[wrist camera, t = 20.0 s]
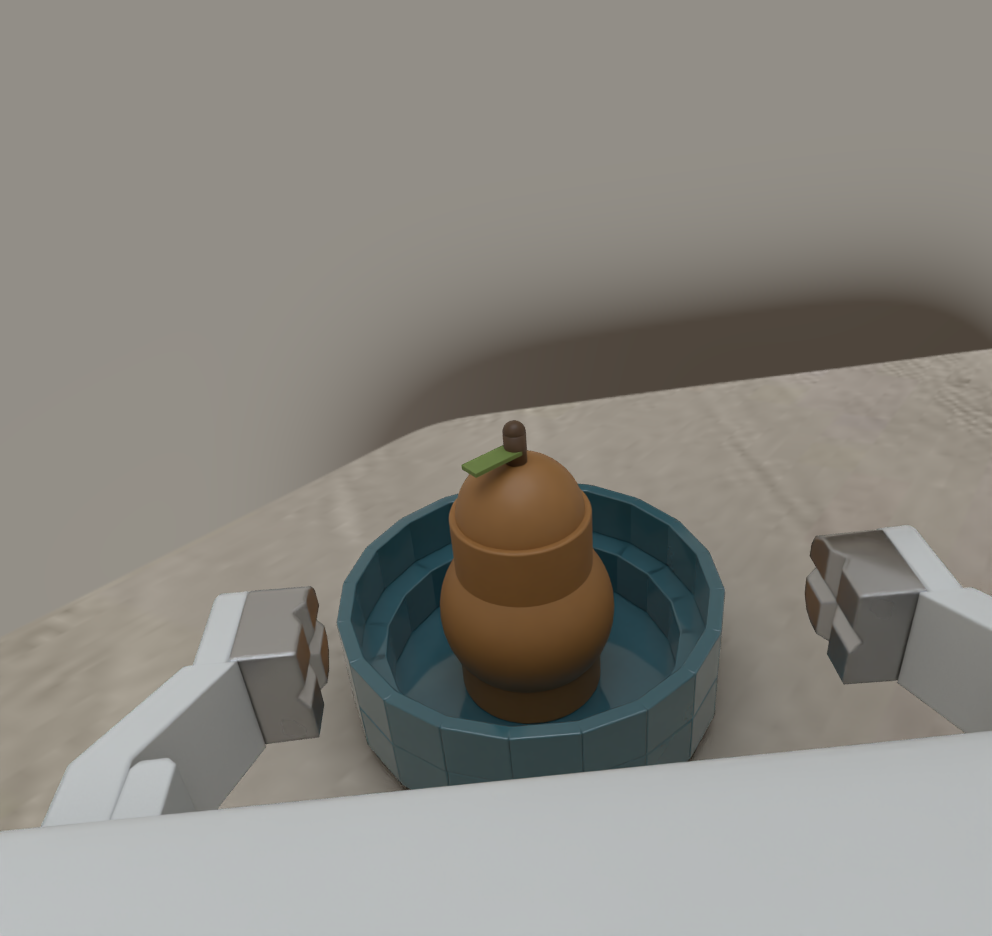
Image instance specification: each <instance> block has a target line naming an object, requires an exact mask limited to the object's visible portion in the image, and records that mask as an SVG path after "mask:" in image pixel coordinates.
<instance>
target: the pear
mask: <svg viewBox="0 0 992 936" xmlns="http://www.w3.org/2000/svg"><path fill="white" fill-rule="evenodd" d="M462 469H463V470H464V471H466V472H467V473H469V476H468V477H467V478H466V480H465V481H464V483H463V485H462V487H461V489H460V492H459V494H458V498H457V499H456V500H455V501H454V503H453V505H452V507H451V510H450V513H449V526H450V534H451V542H452V549H453V557H454V558H453V560H452V562H451V564H450V566H449V568H448V570H447V572H446V575H445V577H444V581H443V584H442V589H441V597H440V614H441V621H442V626H443V630H444V634H445V636H446V639H447V641H448V643H449V645H450V648H451V649H452V651H453V652H454V654H455V655H456V657H457V658H458V660H459V661H460V663H461V664H462V670H463V678H464V683H465V687H466V689H467V691H468V693H469V695H470V696H471V698H472V699H473V700H474V702H475V703H476V704H477V705H478V706H479V707H481V708H482V709H483V710H484V711H486V712H488V713H489V714H491V715H493V716H495V717H497V718H500V719H503V720H506V721H510V722H515V723H525V724H535V723H544V722H549V721H553V720H557V719H559V718H562V717H565V716H567V715H569V714H571V713H573V712H574V711H576V710H577V709H579V708H580V707H581V706H582V705H584V704H585V703H586V702H587V701H588V700H589V698H590V697H591V696H592V694H593V693H594V691H595V689H596V687H597V685H598V682H599V679H600V671H601V670H600V654H601V653H602V651H603V648H604V646H605V644H606V642H607V640H608V638H609V635H610V631H611V628H612V624H613V616H614V596H613V589H612V585H611V581H610V578H609V575H608V572H607V570H606V568H605V566H604V564H603V562H602V560H601V559H600V557H599V556H598V554H597V553H596V552H595V550H594V549H593V539H592V507H591V504H590V501H589V499H588V498H587V496H586V494H585V493H584V492H583V491H582V490H581V489H580V488H579V486H578V484H577V482H576V481H575V479H574V478H573V476H572V475H571V474H570V472H569V471H568V470H567V469H566V468H565V467H564V466H562V465H561V464H560V463H559V462H557V461H556V460H554V459H553V458H550V457H548V456H546V455H544V454H541V453H538V452H534V451H528V450H527V445H526V430H525V427H524V425H523V424H522V423H521V422H519V421H516V420H513V421H509V422H507V423H506V424H505V425H504V427H503V445H502V446H500V447H498V448H496V449H494V450H492V451H490V452H488V453H486V454H483V455H481V456H479V457H477V458H475V459H473V460H471V461H469V462H467V463H465V464H463V465H462Z"/></svg>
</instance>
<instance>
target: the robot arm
mask: <svg viewBox="0 0 992 936" xmlns="http://www.w3.org/2000/svg"><path fill="white" fill-rule="evenodd" d="M810 557H811V559H812V561H813V562H814V564H815V566H816V568H815V569H814V570H813V571H812V572H811V573H810V574H809V575H808V576H807V578H806V587H805V600H806V609H807V613H808V616H809V619H810V622H811V624H812V626H813V628H814V630H815V632H816V634H818V635H819V636H821V637H823V638H824V639H826V640H828V641H829V645H828V651H827V655H828V656H829V658H830V660H831V662H832V664H833V666H834V667H835V669H836V671H837V673H838V675H839V677H840V678H841V680H842V682H843V684H856V683H869V682H883V681H896V680H898V682H897V683H898V684H900V685H901V686H902V687H904V688H905V689H906V690H908V691H909V692H910V693H912V694H913V695H915V696H916V697H917V698H919V699H920V700H921V701H923V702H924V703H925V704H927V705H928V706H929V707H931V708H932V709H933V710H935V711H936V712H938V713H939V714H940V715H942V716H943V717H944V718H946V719H947V720H948V721H950V722H951V723H952V724H954V725H955V726H956V727H958V728H959V729H961V730H962V731H963V732H965V733H964V734H954V735H945V736H935V737H925V738H916V739H907V740H897V741H888V742H878V743H868V744H858V745H848V746H838V747H828V748H818V749H808V750H798V751H788V752H778V753H768V754H758V755H748V756H738V757H728V758H718V759H708V760H698V761H688V762H678V763H668V764H658V765H649V766H639V767H629V768H619V769H610V770H600V771H590V772H580V773H571V774H561V775H551V776H541V777H532V778H522V779H512V780H502V781H493V782H483V783H473V784H463V785H453V786H443V787H433V788H423V789H413V790H404V791H394V792H384V793H374V794H364V795H354V796H344V797H334V798H324V799H315V800H305V801H295V802H285V803H275V804H265V805H255V806H245V807H235V808H225V809H218V808H219V806H220V805H221V804H222V802H223V801H224V800H225V799H226V797H227V796H228V795H229V794H230V792H231V791H232V790H233V789H234V787H235V786H236V785H237V783H238V782H239V781H240V780H241V778H242V777H243V776H244V775H245V773H246V772H247V771H248V769H249V768H250V767H251V766H252V764H253V763H254V762H255V761H256V759H257V758H258V757H259V755H260V754H261V753H262V752H263V750H264V749H265V748H266V745H265V744H270V743H278V742H286V741H294V740H302V739H309V738H317V737H319V735H320V729H321V722H322V716H323V709H324V702H323V698H322V694H321V689H322V688H323V687H324V686H325V685H326V684H327V681H328V673H329V648H328V641H327V635H326V631H325V627H324V625H323V624H321V623H320V622H319V621H318V620H317V614H318V608H319V603H318V600H317V597H316V593H315V590H314V589H313V588H312V587H311V586H307V587H294V588H281V589H268V590H255V591H251V592H236V593H224V594H220V595H219V596H218V597H217V598H216V599H215V600H214V603H213V606H212V609H211V612H210V615H209V618H208V621H207V624H206V627H205V630H204V633H203V636H202V639H201V642H200V645H199V648H198V651H197V654H196V657H195V660H194V663H193V665H192V666H184V667H183V668H181V669H180V670H179V671H178V672H177V673H176V674H174V675H173V676H172V677H171V678H170V679H169V680H167V681H166V682H165V683H164V684H163V685H162V686H160V687H159V688H158V689H157V690H156V691H155V692H153V693H152V694H151V695H150V696H149V697H147V698H146V699H145V700H144V701H143V702H142V703H140V704H139V705H138V706H137V707H136V708H135V709H133V710H132V711H131V712H130V713H129V714H128V715H126V716H125V717H124V718H123V719H122V720H121V721H119V722H118V723H117V724H116V725H115V726H114V727H112V728H111V729H110V730H109V731H108V732H107V733H105V734H104V735H103V736H102V737H101V738H100V739H98V740H97V741H96V742H95V743H94V744H93V745H91V746H90V747H89V748H88V749H87V750H85V751H84V752H83V753H82V754H81V755H80V756H78V757H77V758H76V759H75V760H74V761H73V762H71V763H70V764H69V765H68V766H67V769H66V771H65V773H64V775H63V778H62V780H61V782H60V784H59V787H58V789H57V791H56V793H55V796H54V798H53V800H52V802H51V805H50V807H49V809H48V811H47V814H46V816H45V818H44V820H43V823H42V825H41V827H37V828H27V829H17V830H7V831H0V936H992V596H990V595H987V594H985V593H983V592H981V591H979V590H977V589H975V588H973V587H970V588H963V587H962V586H961V585H960V584H959V582H958V581H957V580H956V579H955V577H954V576H953V575H952V574H951V572H950V571H949V570H948V569H947V567H946V566H945V565H944V564H943V562H942V561H941V560H940V559H939V557H938V556H937V555H936V554H935V552H934V551H933V550H932V549H931V547H930V546H929V545H928V544H927V543H926V541H925V540H924V539H923V538H922V536H921V535H920V534H919V533H918V531H917V530H916V529H915V528H914V527H912V526H910V525H903V526H895V527H887V528H879V529H877V530H867V531H858V532H848V533H839V534H830V535H820V536H815V538H814V540H813V542H812V545H811V551H810Z"/></svg>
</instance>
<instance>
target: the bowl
mask: <svg viewBox="0 0 992 936" xmlns="http://www.w3.org/2000/svg"><path fill="white" fill-rule="evenodd" d="M578 486H579V488H580V489H581V490H582V491H583V492H584V493H585V494H586V496H587V498H588V499H589V501H590V504H591V507H592V539H593V549H594V550H595V552H596V553H597V554H598V556H599V557H600V559H601V560H602V562H603V564H604V566H605V568H606V570H607V572H608V575H609V578H610V581H611V585H612V589H613V596H614V616H613V624H612V628H611V631H610V635H609V638H608V640H607V642H606V644H605V646H604V648H603V651H602V653H601V654H600V670H601V671H600V679H599V682H598V685H597V687H596V689H595V691H594V693H593V694H592V696H591V697H590V698H589V700H588V701H587V702H586V703H585V704H584V705H582V706H581V707H580V708H579V709H577V710H576V711H574V712H573V713H571V714H569V715H567V716H565V717H562V718H559V719H557V720H553V721H549V722H544V723H535V724H525V723H515V722H510V721H506V720H503V719H500V718H497V717H495V716H493V715H491V714H489V713H488V712H486V711H484V710H483V709H482V708H481V707H479V706H478V705H477V704H476V703H475V702H474V700H473V699H472V698H471V696H470V695H469V693H468V691H467V689H466V687H465V683H464V678H463V670H462V664H461V663H460V661H459V660H458V658H457V657H456V655H455V654H454V652H453V651H452V649H451V648H450V645H449V643H448V641H447V639H446V636H445V634H444V630H443V626H442V621H441V614H440V597H441V589H442V584H443V581H444V577H445V575H446V572H447V570H448V568H449V566H450V564H451V562H452V560H453V558H454V557H453V549H452V542H451V534H450V526H449V513H450V510H451V507H452V505H453V503H454V501H455V500H456V499H457V498H458V494H455V495H451V496H448V497H444V498H442V499H440V500H438V501H436V502H434V503H432V504H430V505H427V506H425V507H423V508H421V509H419V510H417V511H415V512H413V513H411V514H409V515H407V516H405V517H403V518H402V519H400V520H398V521H397V522H396V523H395V524H394V525H392V526H391V527H390V528H389V529H388V530H386V531H385V532H384V533H383V534H382V535H380V536H379V537H378V538H377V539H376V540H374V541H373V542H372V543H371V544H370V545H368V546H367V548H365V550H364V551H363V553H362V555H361V556H360V558H359V559H358V561H357V562H356V564H355V566H354V567H353V569H352V570H351V572H350V573H349V575H348V576H347V578H346V580H345V581H344V584H343V588H342V593H341V599H340V605H339V611H338V617H337V628H338V632H339V636H340V641H341V645H342V649H343V653H344V658H345V662H346V666H347V671H348V675H349V679H350V683H351V688H352V692H353V696H354V700H355V704H356V708H357V711H358V714H359V717H360V721H361V724H362V727H363V730H364V734H365V737H366V740H367V743H368V745H369V746H370V748H371V749H372V750H373V751H374V752H375V753H376V755H377V756H378V757H379V758H380V759H381V760H382V762H383V763H384V764H385V765H386V766H387V767H388V768H389V770H390V771H391V772H392V773H393V774H394V775H395V777H396V778H397V779H398V780H399V781H400V782H401V783H402V785H404V786H406V787H407V788H409V789H411V790H413V789H423V788H433V787H443V786H453V785H463V784H473V783H483V782H493V781H502V780H512V779H522V778H532V777H541V776H551V775H561V774H571V773H580V772H590V771H600V770H610V769H619V768H629V767H639V766H649V765H658V764H668V763H678V762H687V761H688V760H689V759H690V758H691V757H692V755H693V753H694V751H695V749H696V748H697V746H698V744H699V742H700V740H701V739H702V737H703V735H704V733H705V731H706V730H707V728H708V726H709V724H710V722H711V721H712V719H713V717H714V714H715V703H716V691H717V680H718V669H719V658H720V647H721V635H722V624H723V611H724V599H725V589H724V586H723V584H722V581H721V579H720V577H719V574H718V572H717V569H716V567H715V564H714V562H713V560H712V557H711V555H710V552H709V551H708V550H707V549H706V548H705V547H704V546H703V545H702V544H701V543H700V542H699V541H698V540H697V539H696V538H695V537H694V536H693V534H692V533H691V532H690V531H689V530H688V529H687V528H686V527H685V526H684V525H683V524H682V523H681V522H680V521H678V520H677V519H675V518H673V517H671V516H670V515H668V514H666V513H664V512H662V511H661V510H659V509H657V508H655V507H653V506H651V505H650V504H648V503H646V502H644V501H642V500H641V499H638V498H636V497H632V496H629V495H625V494H622V493H618V492H615V491H611V490H608V489H604V488H601V487H597V486H594V485H587V484H578Z"/></svg>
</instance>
